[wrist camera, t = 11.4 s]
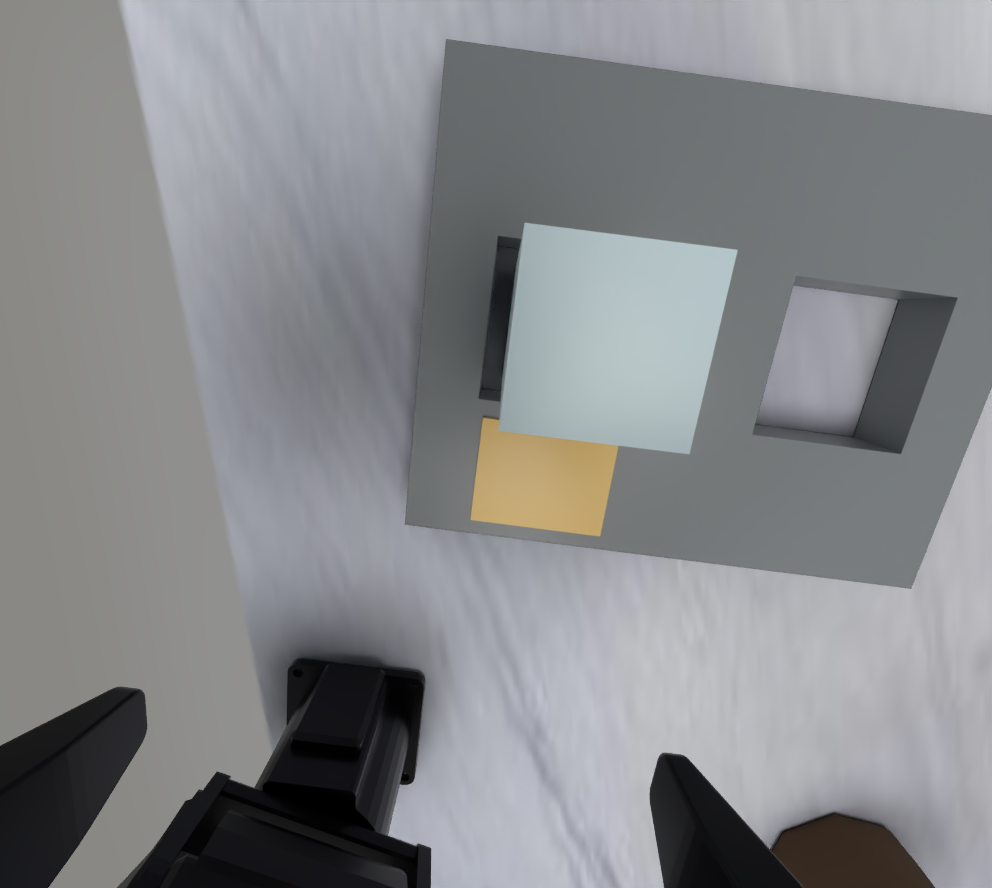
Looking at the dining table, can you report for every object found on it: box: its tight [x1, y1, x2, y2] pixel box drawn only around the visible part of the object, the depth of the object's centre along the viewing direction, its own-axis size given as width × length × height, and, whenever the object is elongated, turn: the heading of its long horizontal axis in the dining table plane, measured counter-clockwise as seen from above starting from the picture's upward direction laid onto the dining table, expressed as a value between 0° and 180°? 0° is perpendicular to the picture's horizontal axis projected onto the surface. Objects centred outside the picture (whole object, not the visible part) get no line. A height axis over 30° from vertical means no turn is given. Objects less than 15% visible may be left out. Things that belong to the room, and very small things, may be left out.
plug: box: [498, 223, 738, 454], centre depth 14 cm, size 4×4×10 cm
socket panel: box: [405, 39, 992, 589], centre depth 18 cm, size 16×20×3 cm
